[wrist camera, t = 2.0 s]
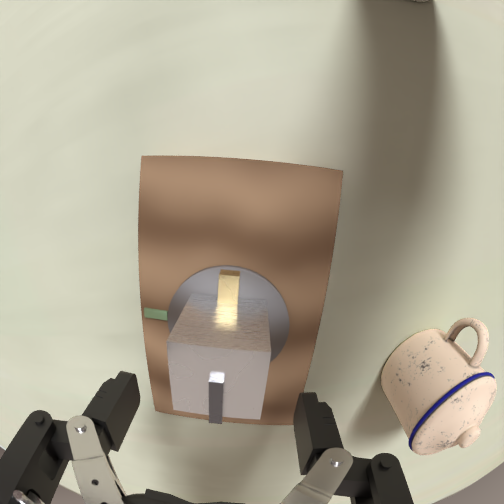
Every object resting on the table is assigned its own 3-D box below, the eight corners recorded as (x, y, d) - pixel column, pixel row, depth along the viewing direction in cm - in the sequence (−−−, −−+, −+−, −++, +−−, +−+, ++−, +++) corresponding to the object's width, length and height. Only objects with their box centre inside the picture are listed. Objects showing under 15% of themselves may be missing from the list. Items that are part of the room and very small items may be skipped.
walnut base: (152, 158, 18) (136, 154, 15) (334, 171, 18) (347, 170, 16) (160, 397, 24) (153, 416, 21) (291, 410, 24) (294, 431, 21)
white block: (192, 266, 17) (161, 310, 11) (269, 273, 17) (276, 322, 11) (193, 372, 19) (174, 432, 13) (256, 378, 19) (257, 442, 13)
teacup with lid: (425, 394, 24) (468, 463, 13) (362, 396, 23) (400, 486, 12) (473, 302, 21) (546, 357, 10) (413, 290, 20) (499, 363, 9)
